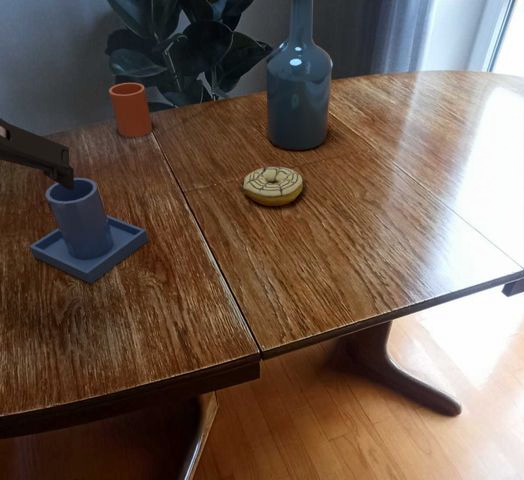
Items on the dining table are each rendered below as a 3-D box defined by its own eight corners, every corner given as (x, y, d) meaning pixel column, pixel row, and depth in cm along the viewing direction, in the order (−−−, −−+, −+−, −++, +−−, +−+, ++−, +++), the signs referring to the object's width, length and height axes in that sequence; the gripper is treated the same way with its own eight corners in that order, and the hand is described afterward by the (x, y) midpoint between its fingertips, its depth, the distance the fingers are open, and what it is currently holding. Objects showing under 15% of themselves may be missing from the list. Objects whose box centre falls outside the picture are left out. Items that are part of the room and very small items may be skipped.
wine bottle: (335, 132, 105) (352, -39, 82) (312, 157, 97) (324, -25, 75) (281, 122, 109) (283, -43, 87) (255, 145, 101) (249, -31, 79)
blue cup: (58, 250, 76) (34, 194, 68) (91, 228, 80) (73, 173, 72) (90, 265, 73) (69, 208, 65) (123, 241, 77) (107, 185, 70)
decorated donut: (262, 176, 92) (261, 157, 89) (310, 188, 88) (312, 169, 86) (234, 200, 86) (233, 181, 83) (285, 215, 82) (286, 195, 80)
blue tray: (33, 257, 76) (28, 246, 74) (93, 218, 83) (89, 208, 81) (90, 284, 71) (86, 273, 69) (148, 240, 78) (146, 229, 76)
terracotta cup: (113, 139, 105) (101, 91, 97) (136, 127, 109) (126, 80, 101) (138, 146, 102) (127, 98, 94) (160, 134, 106) (151, 86, 99)
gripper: (-250, 148, 41) (-70, 207, 62) (25, 148, 40) (113, 208, 61) (-254, 60, 41) (-71, 150, 62) (24, 58, 40) (112, 150, 61)
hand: (21, 179), depth 62 cm, fingers open, 13 cm apart
